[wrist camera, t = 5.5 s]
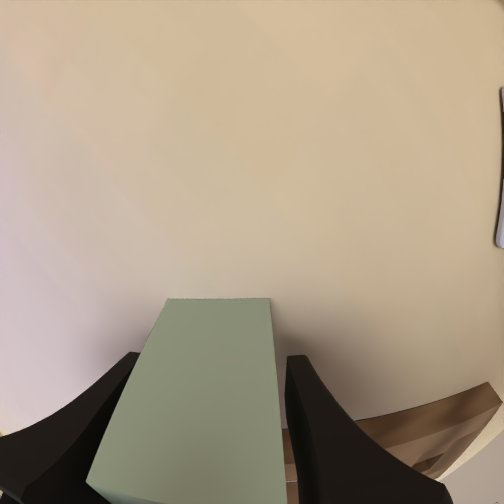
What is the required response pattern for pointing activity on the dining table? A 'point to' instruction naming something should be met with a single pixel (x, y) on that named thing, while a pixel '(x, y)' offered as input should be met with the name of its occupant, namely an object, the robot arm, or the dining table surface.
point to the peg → (198, 412)
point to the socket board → (420, 433)
